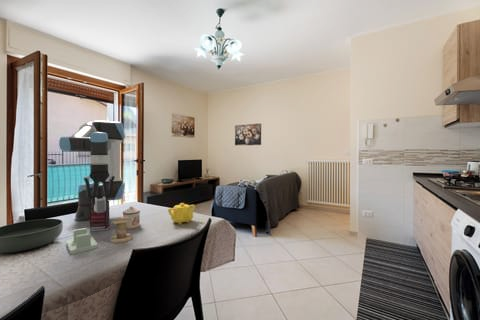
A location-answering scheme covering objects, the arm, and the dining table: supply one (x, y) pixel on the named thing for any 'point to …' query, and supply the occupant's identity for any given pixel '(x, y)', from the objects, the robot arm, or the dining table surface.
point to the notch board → (75, 250)
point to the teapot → (181, 213)
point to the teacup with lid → (132, 217)
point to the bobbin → (121, 230)
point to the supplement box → (99, 219)
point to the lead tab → (100, 205)
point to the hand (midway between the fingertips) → (100, 210)
